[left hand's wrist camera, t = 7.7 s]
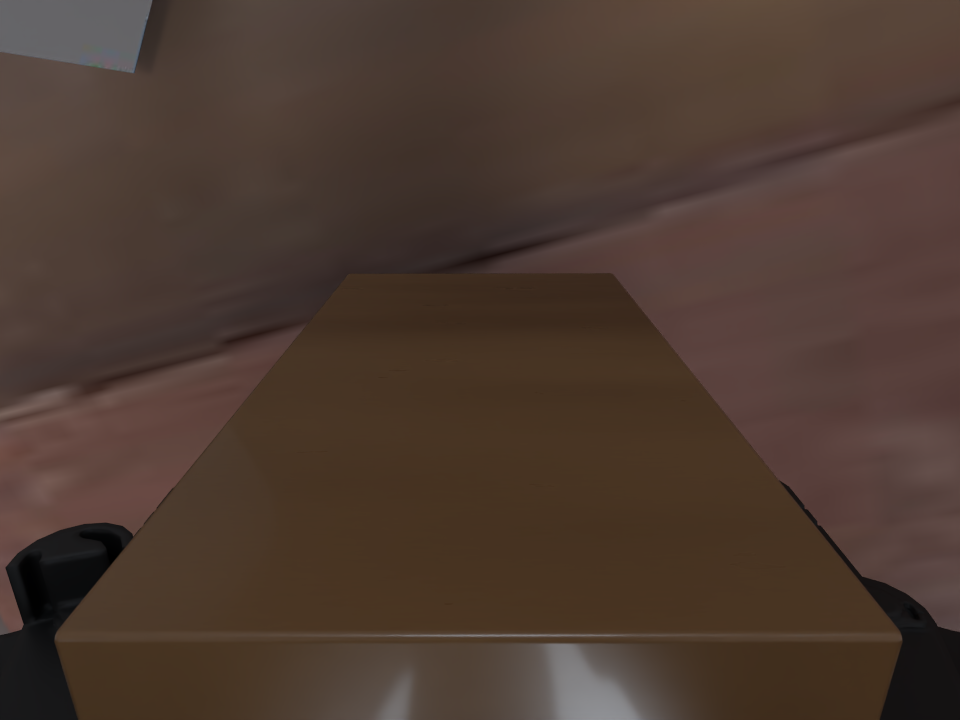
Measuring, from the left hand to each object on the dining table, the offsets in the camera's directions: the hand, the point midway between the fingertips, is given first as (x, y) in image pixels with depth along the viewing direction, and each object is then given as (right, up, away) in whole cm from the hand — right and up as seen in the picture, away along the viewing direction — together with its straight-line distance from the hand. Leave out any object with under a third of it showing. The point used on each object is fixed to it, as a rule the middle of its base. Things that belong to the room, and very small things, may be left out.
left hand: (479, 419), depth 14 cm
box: (0, -9, +5) cm, 10 cm away
